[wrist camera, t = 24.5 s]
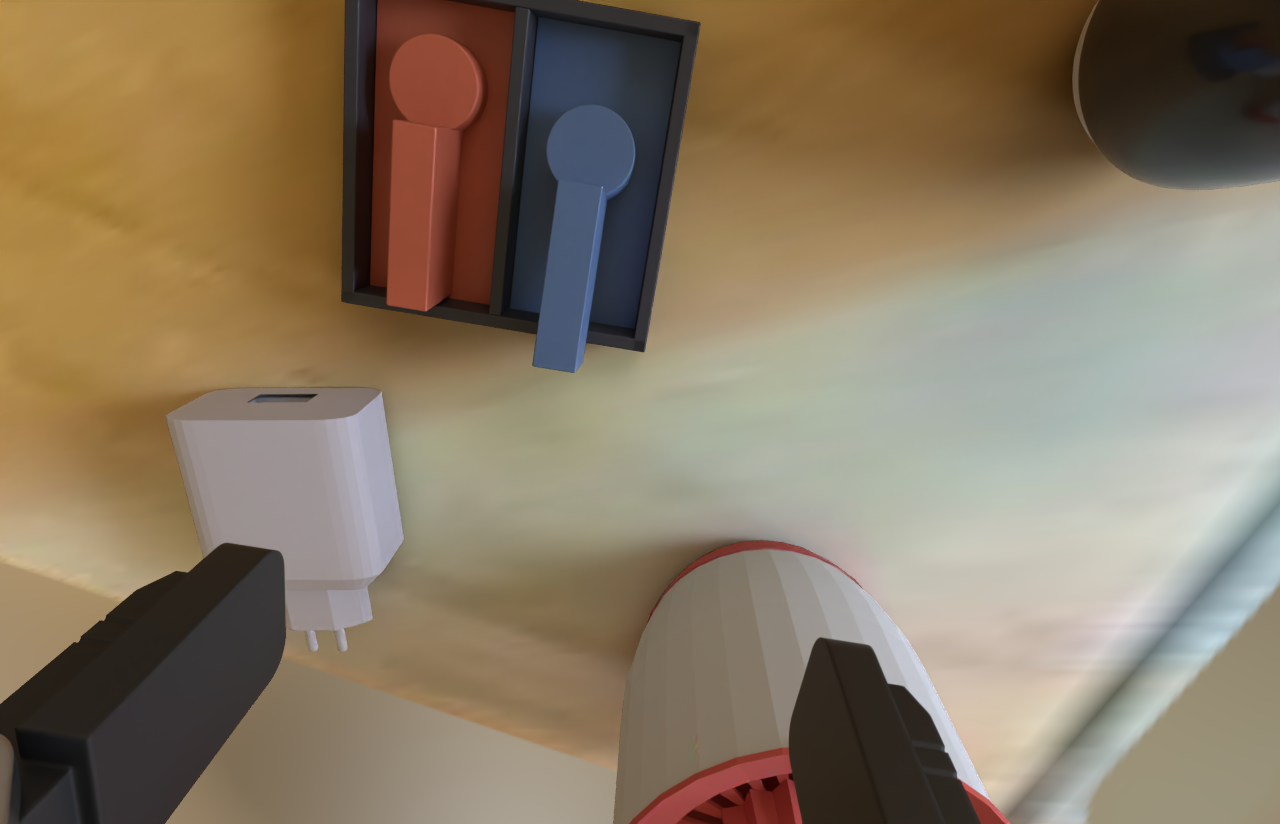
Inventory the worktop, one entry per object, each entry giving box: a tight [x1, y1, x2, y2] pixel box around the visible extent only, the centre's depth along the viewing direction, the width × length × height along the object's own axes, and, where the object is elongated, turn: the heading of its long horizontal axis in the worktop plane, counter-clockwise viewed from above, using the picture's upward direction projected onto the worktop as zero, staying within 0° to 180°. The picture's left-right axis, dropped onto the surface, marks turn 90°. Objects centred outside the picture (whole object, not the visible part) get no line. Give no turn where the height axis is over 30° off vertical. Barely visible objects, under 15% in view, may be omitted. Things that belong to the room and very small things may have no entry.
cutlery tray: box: [341, 0, 701, 352], centre depth 32 cm, size 14×14×2 cm
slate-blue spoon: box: [532, 104, 636, 373], centre depth 30 cm, size 4×11×4 cm, turn 171°
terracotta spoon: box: [386, 33, 488, 311], centre depth 31 cm, size 4×11×4 cm, turn 171°
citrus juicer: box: [613, 540, 1010, 824], centre depth 32 cm, size 16×17×20 cm
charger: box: [166, 387, 404, 652], centre depth 38 cm, size 5×9×15 cm
